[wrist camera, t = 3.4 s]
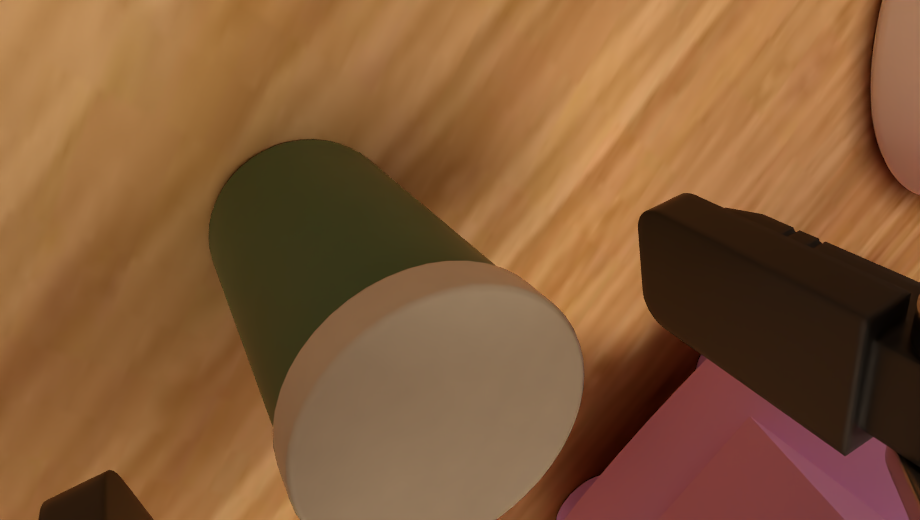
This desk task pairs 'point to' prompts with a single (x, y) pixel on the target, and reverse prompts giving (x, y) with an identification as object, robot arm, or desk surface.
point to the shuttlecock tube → (387, 344)
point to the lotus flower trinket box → (898, 89)
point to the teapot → (734, 465)
